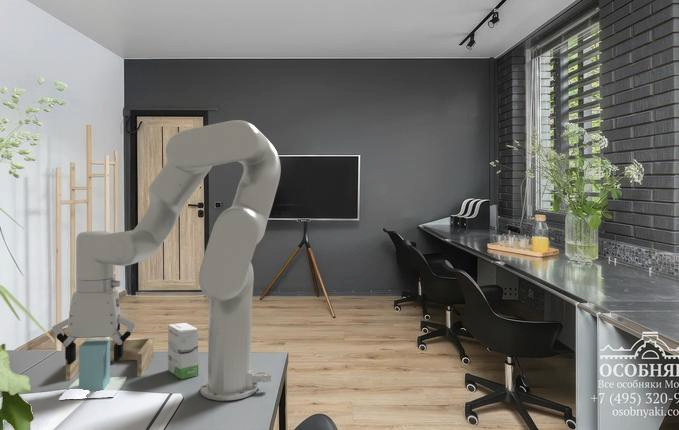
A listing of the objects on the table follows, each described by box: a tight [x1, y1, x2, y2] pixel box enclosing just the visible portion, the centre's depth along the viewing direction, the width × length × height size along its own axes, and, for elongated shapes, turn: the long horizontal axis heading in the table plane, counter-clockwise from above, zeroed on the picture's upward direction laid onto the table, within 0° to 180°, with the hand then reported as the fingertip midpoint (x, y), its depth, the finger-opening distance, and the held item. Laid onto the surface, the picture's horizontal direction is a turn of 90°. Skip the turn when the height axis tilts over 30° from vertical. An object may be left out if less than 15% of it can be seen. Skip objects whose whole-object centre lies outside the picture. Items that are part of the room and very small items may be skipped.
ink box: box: [167, 322, 199, 380], centre depth 118 cm, size 9×5×12 cm, turn 39°
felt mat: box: [66, 376, 128, 398], centre depth 107 cm, size 11×11×1 cm
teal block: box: [78, 338, 111, 391], centre depth 107 cm, size 5×5×10 cm
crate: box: [65, 337, 154, 381], centre depth 121 cm, size 17×14×6 cm
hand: (94, 361), depth 107 cm, fingers open, 9 cm apart
